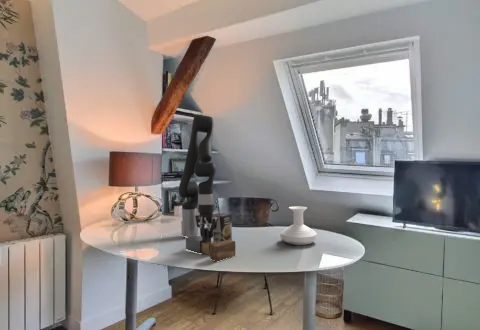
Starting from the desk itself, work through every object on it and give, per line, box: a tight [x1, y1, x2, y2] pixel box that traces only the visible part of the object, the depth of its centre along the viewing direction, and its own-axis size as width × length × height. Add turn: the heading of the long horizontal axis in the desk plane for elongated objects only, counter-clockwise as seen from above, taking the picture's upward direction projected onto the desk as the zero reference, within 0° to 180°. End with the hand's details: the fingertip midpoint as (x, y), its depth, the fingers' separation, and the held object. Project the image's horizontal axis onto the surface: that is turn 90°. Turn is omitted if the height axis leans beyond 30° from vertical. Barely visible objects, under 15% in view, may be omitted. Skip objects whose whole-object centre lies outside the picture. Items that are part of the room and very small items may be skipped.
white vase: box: [279, 205, 318, 246], centre depth 186 cm, size 20×20×19 cm
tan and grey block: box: [201, 226, 216, 256], centre depth 169 cm, size 15×5×12 cm, turn 49°
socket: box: [209, 240, 236, 262], centre depth 160 cm, size 5×12×7 cm, turn 139°
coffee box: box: [212, 213, 233, 243], centre depth 185 cm, size 9×6×16 cm
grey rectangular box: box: [185, 235, 202, 253], centre depth 172 cm, size 11×7×7 cm, turn 49°
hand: (206, 236), depth 167 cm, fingers open, 5 cm apart
